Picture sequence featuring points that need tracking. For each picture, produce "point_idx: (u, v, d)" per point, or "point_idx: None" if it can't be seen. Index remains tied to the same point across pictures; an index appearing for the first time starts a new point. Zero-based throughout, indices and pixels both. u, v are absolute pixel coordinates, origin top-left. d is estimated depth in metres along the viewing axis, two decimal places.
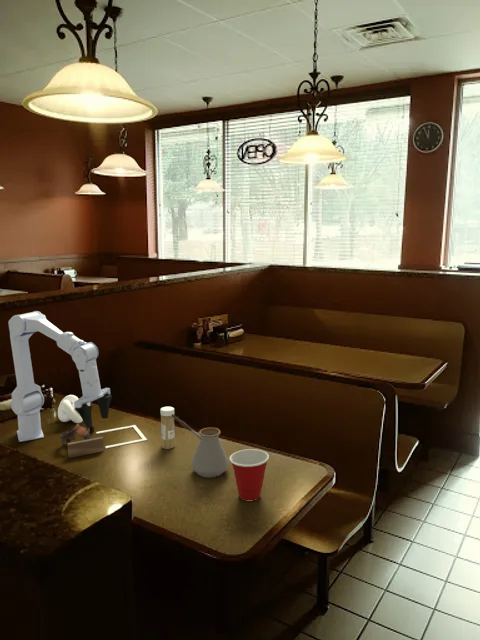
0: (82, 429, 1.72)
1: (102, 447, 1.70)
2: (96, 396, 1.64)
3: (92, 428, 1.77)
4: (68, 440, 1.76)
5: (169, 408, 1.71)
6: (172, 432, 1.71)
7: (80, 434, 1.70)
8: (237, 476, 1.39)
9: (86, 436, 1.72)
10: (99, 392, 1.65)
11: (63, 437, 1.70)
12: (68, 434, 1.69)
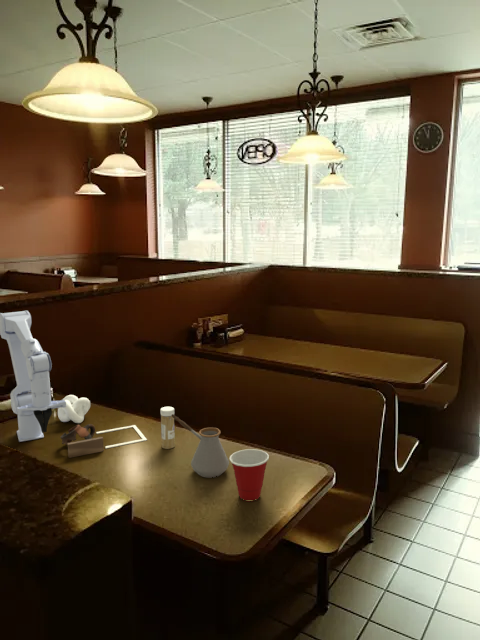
0: (83, 430, 1.72)
1: (102, 447, 1.70)
2: (39, 408, 1.64)
3: (93, 429, 1.77)
4: (69, 441, 1.76)
5: (169, 408, 1.71)
6: (172, 432, 1.71)
7: (81, 435, 1.70)
8: (237, 476, 1.39)
9: (87, 437, 1.71)
10: (44, 405, 1.64)
11: (64, 438, 1.69)
12: (69, 435, 1.69)
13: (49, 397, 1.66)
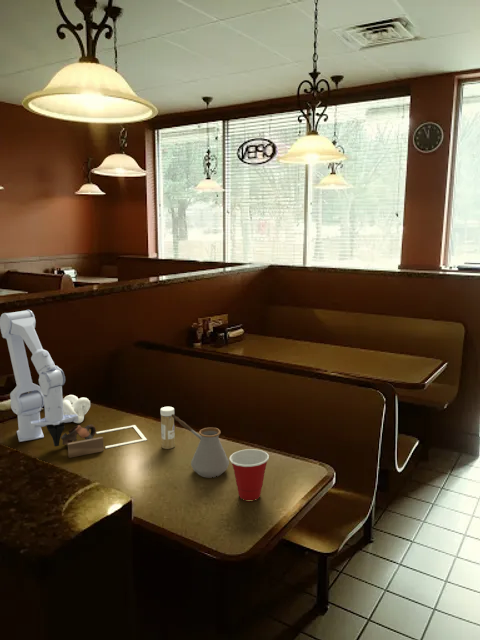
0: (83, 430, 1.72)
1: (102, 447, 1.70)
2: (52, 422, 1.66)
3: (93, 429, 1.77)
4: (69, 441, 1.75)
5: (169, 408, 1.71)
6: (172, 432, 1.71)
7: (81, 435, 1.70)
8: (237, 476, 1.39)
9: (87, 437, 1.71)
10: (57, 419, 1.67)
11: (64, 438, 1.69)
12: (69, 435, 1.69)
13: (62, 411, 1.68)
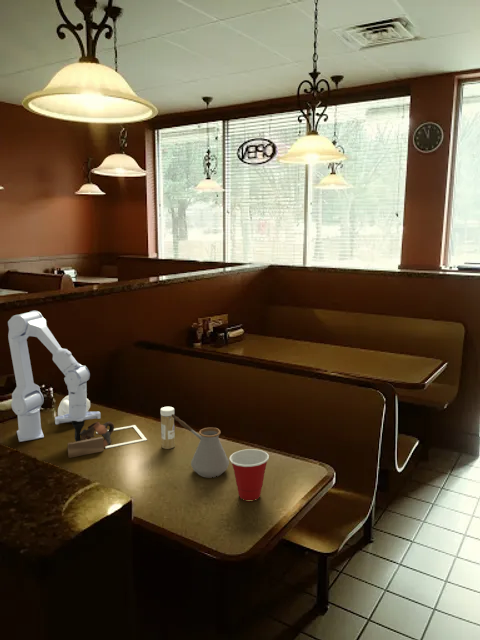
0: (101, 427, 1.74)
1: (102, 447, 1.70)
2: (75, 419, 1.71)
3: (112, 426, 1.79)
4: (88, 437, 1.79)
5: (169, 408, 1.71)
6: (172, 432, 1.71)
7: (99, 432, 1.72)
8: (237, 476, 1.39)
9: (105, 434, 1.74)
10: (80, 416, 1.71)
11: (82, 434, 1.72)
12: (87, 431, 1.72)
13: (85, 408, 1.72)
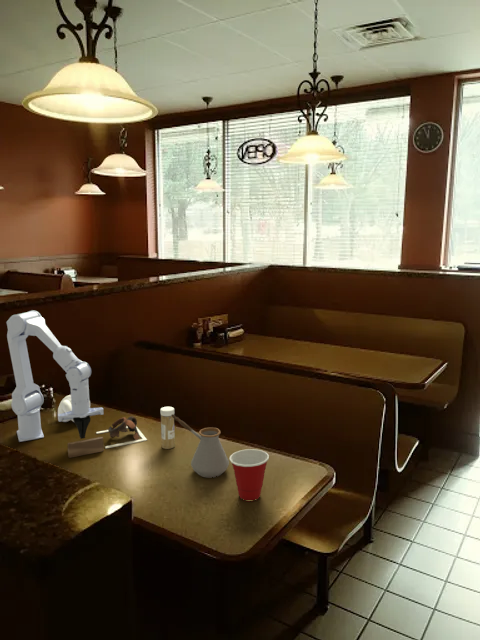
0: (130, 421, 1.79)
1: (102, 447, 1.70)
2: (78, 415, 1.70)
3: (135, 420, 1.84)
4: None
5: (169, 408, 1.71)
6: (172, 432, 1.71)
7: (131, 426, 1.77)
8: (237, 476, 1.39)
9: (135, 427, 1.79)
10: (83, 412, 1.71)
11: (115, 431, 1.75)
12: (120, 427, 1.75)
13: (88, 405, 1.72)
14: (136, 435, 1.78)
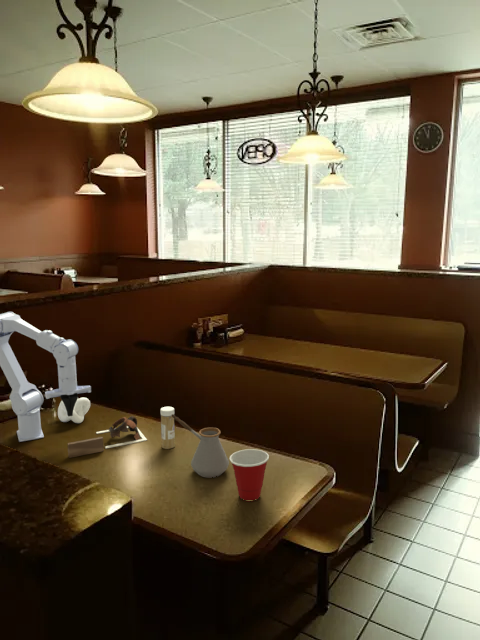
0: (131, 421, 1.79)
1: (102, 447, 1.70)
2: (66, 392, 1.71)
3: (135, 420, 1.84)
4: None
5: (169, 408, 1.71)
6: (172, 432, 1.71)
7: (131, 426, 1.77)
8: (237, 476, 1.39)
9: (136, 427, 1.79)
10: (70, 389, 1.71)
11: (115, 430, 1.75)
12: (121, 427, 1.75)
13: (75, 382, 1.73)
14: (137, 435, 1.78)
